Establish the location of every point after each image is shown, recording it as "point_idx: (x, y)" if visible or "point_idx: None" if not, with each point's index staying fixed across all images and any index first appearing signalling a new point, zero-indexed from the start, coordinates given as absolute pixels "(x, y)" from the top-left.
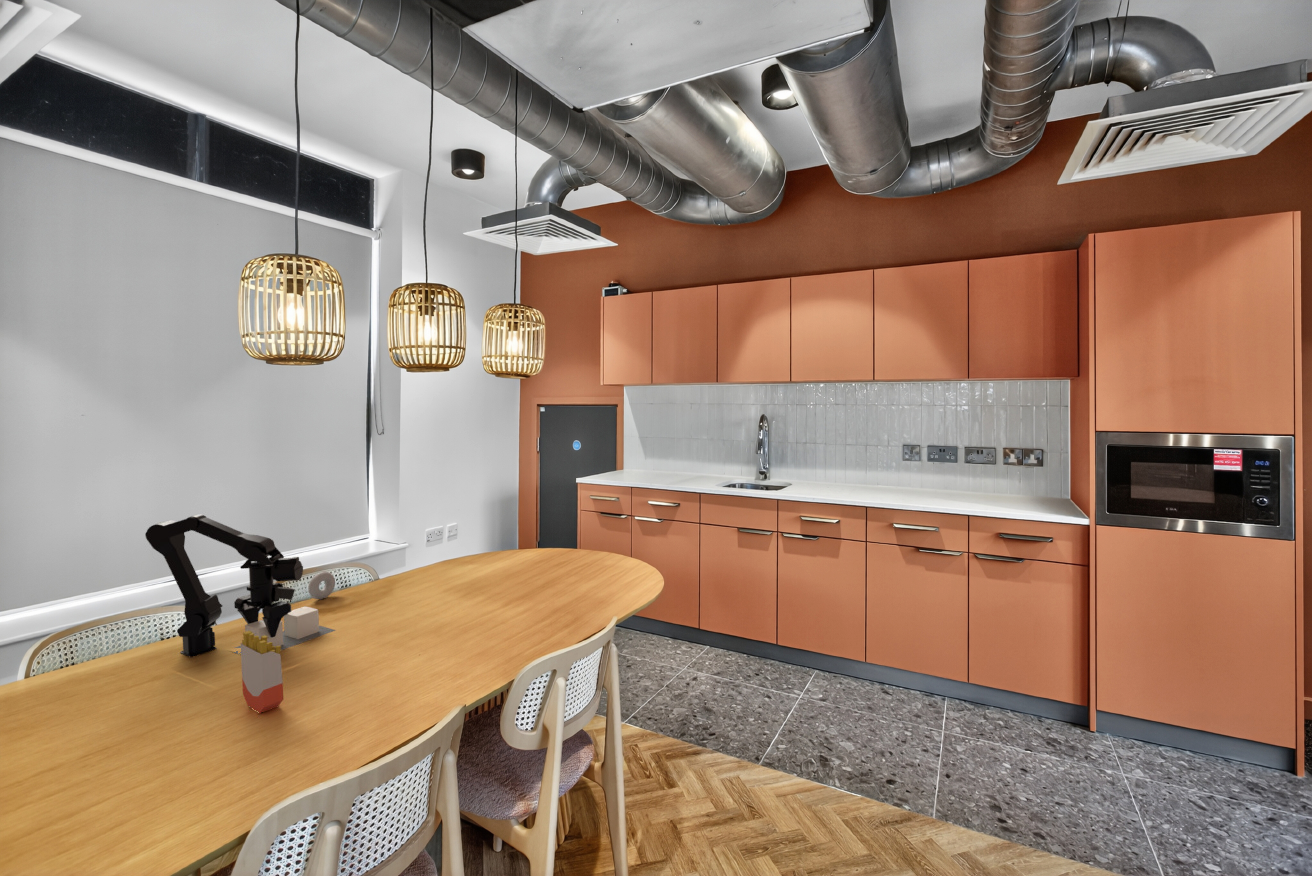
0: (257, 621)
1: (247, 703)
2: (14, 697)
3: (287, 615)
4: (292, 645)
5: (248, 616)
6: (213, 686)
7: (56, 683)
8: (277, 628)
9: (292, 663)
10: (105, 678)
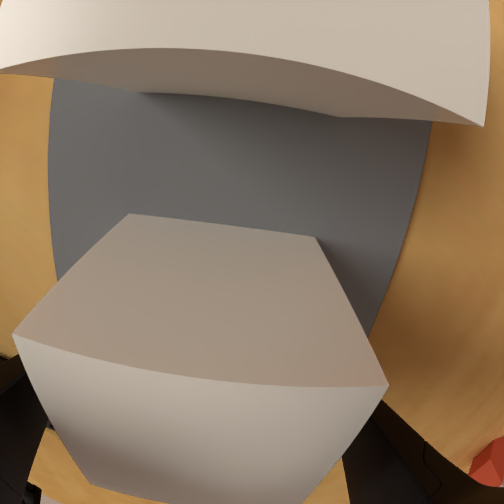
0: (67, 438)
1: (472, 464)
2: (53, 499)
3: (111, 57)
4: (395, 227)
5: (12, 482)
6: (346, 486)
7: (32, 480)
8: (402, 421)
9: (492, 352)
10: (61, 481)
